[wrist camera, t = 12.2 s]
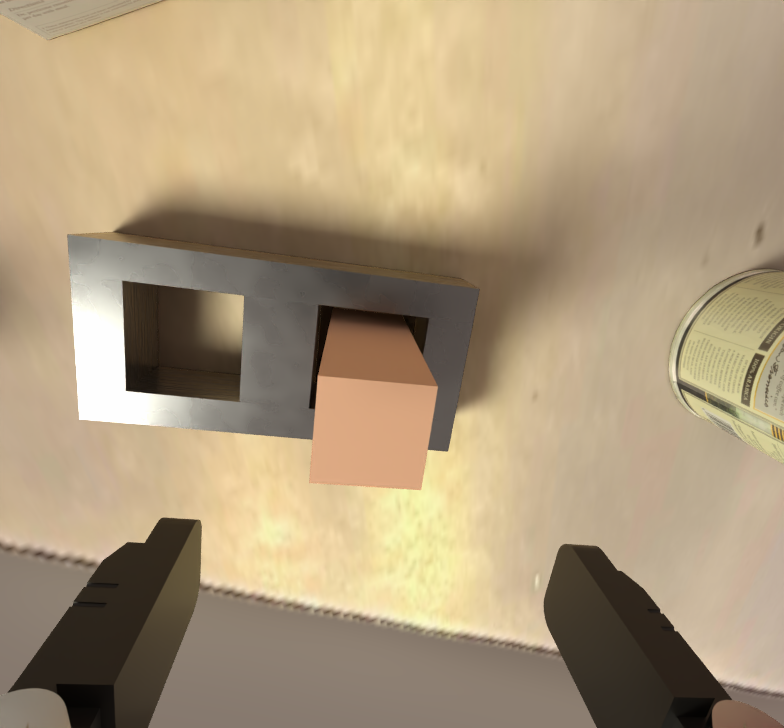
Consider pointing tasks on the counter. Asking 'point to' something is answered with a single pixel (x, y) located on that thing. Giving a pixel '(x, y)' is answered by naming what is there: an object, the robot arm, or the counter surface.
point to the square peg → (371, 404)
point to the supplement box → (65, 13)
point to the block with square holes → (260, 333)
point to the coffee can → (735, 359)
